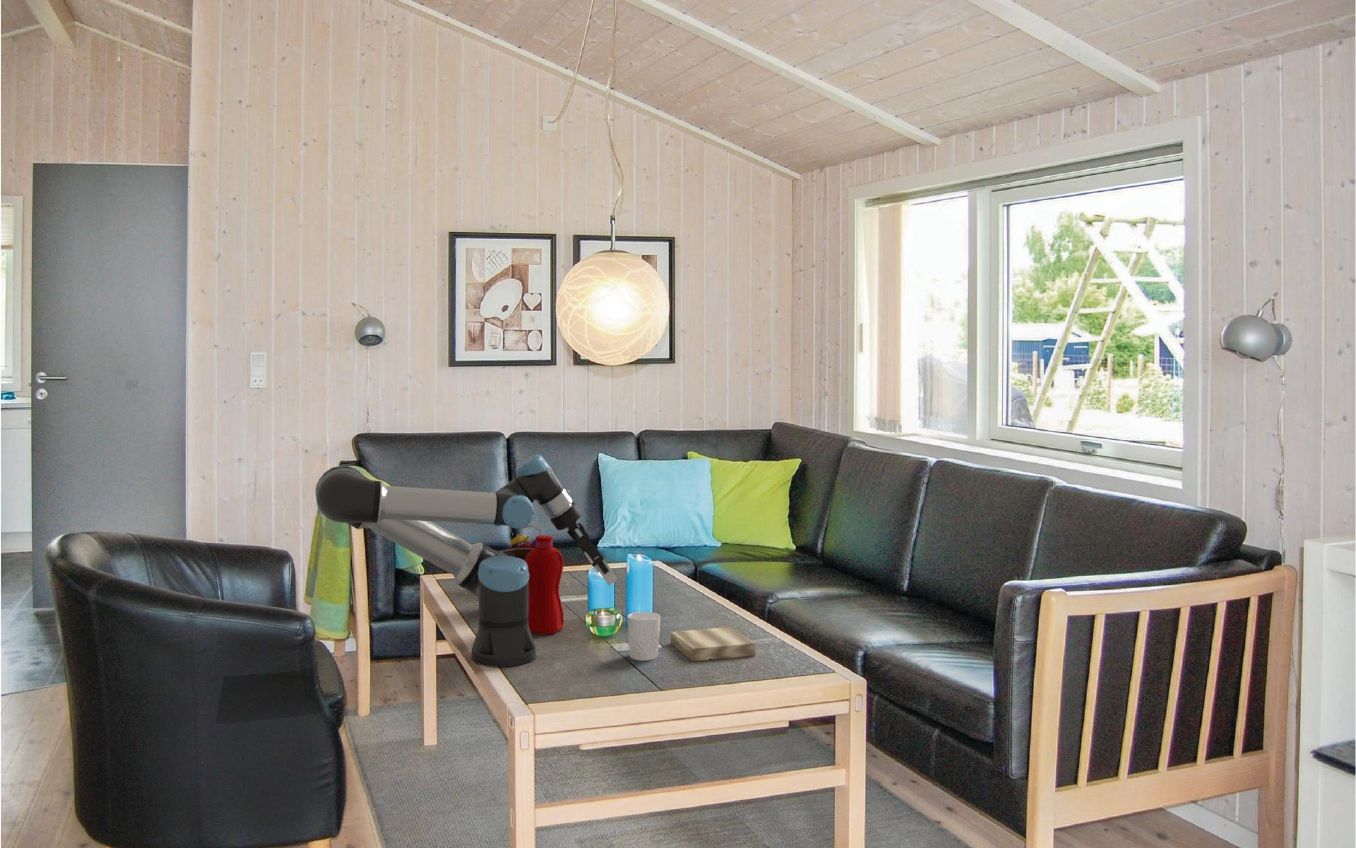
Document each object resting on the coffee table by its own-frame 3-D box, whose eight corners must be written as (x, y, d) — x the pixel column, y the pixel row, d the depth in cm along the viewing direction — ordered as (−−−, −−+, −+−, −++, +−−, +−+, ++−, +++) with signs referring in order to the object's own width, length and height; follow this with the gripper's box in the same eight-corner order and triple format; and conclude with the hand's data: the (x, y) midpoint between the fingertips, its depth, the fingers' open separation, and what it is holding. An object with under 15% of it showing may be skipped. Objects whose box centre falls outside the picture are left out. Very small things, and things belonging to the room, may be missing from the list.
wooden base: (693, 661, 263) (693, 648, 263) (670, 643, 278) (670, 631, 278) (755, 655, 268) (755, 643, 268) (730, 638, 283) (730, 626, 283)
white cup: (646, 663, 261) (646, 621, 260) (620, 657, 265) (620, 616, 265) (666, 656, 267) (667, 615, 266) (641, 650, 272) (641, 610, 271)
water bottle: (569, 626, 294) (569, 532, 292) (553, 637, 283) (554, 539, 281) (537, 623, 296) (537, 530, 294) (520, 634, 285) (520, 537, 284)
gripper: (583, 509, 268) (630, 578, 273) (565, 492, 292) (608, 556, 297) (557, 528, 267) (605, 596, 272) (541, 509, 290) (586, 573, 296)
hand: (607, 575), depth 284 cm, fingers open, 13 cm apart
